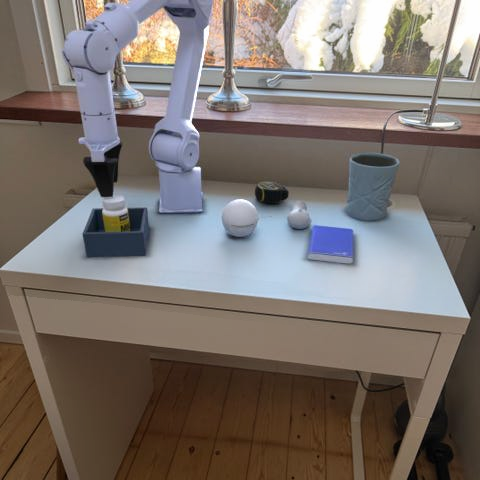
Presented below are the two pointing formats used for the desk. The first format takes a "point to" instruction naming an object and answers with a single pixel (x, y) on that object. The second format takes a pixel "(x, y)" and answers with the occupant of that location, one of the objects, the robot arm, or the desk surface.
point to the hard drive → (331, 244)
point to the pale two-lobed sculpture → (298, 215)
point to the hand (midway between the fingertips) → (109, 189)
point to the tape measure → (270, 192)
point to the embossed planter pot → (370, 185)
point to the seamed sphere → (240, 218)
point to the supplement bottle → (115, 214)
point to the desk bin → (116, 235)
